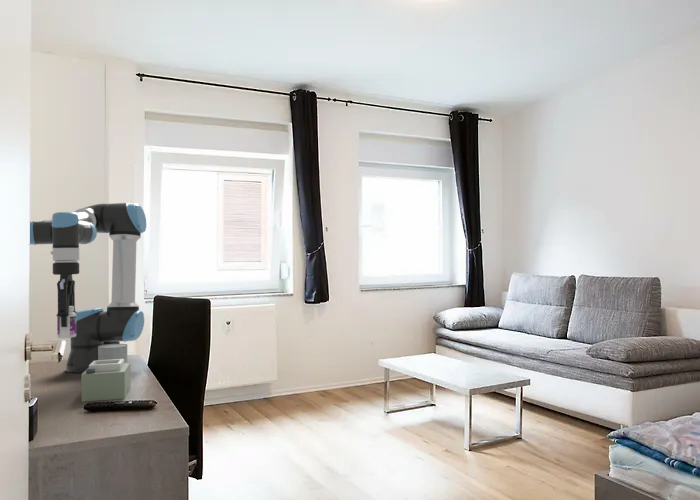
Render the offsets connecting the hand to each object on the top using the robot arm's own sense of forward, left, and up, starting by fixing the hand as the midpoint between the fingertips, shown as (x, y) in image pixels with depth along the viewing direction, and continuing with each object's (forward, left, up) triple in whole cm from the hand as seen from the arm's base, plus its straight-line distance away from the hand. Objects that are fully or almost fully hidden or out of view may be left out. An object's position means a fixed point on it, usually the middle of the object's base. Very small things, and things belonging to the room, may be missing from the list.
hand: (67, 336), depth 182 cm
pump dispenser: (-70, +2, -18) cm, 72 cm away
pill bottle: (0, 0, 0) cm, 0 cm away
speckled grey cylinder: (-18, +11, -19) cm, 28 cm away
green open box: (+3, +12, -18) cm, 22 cm away
